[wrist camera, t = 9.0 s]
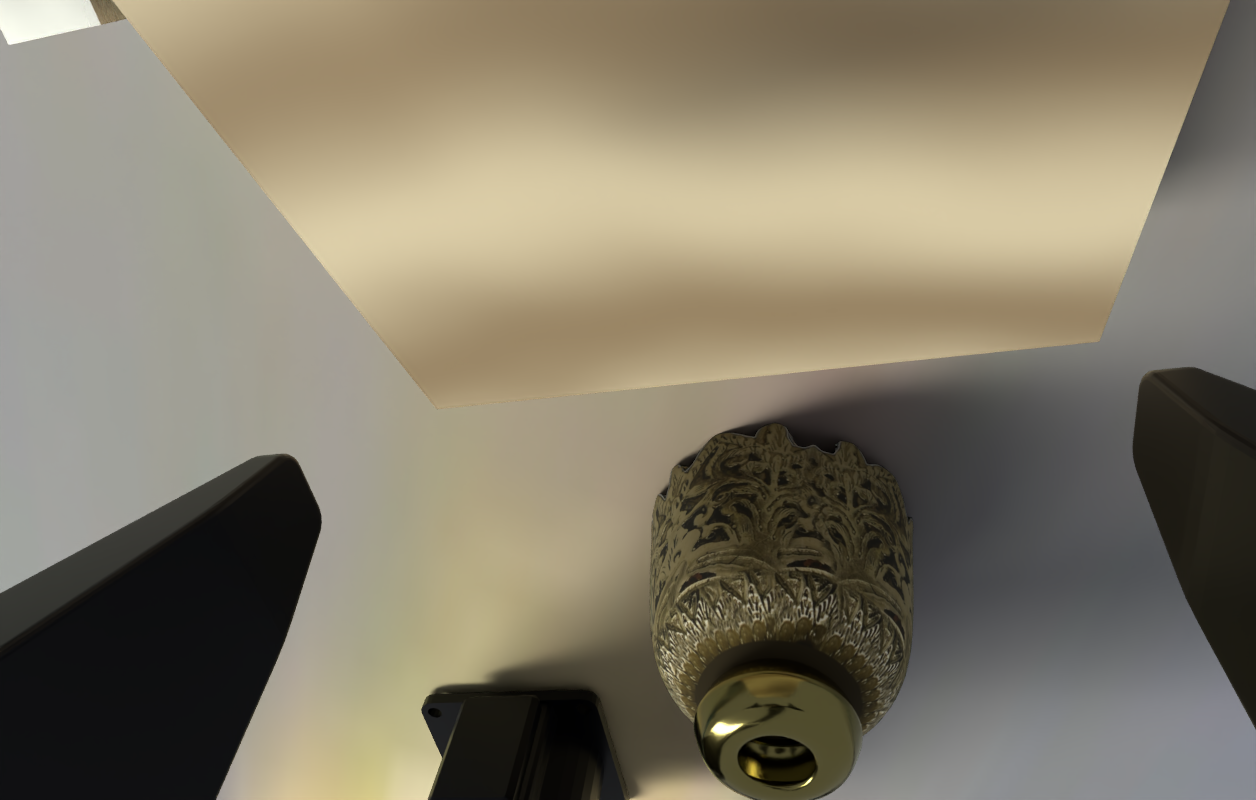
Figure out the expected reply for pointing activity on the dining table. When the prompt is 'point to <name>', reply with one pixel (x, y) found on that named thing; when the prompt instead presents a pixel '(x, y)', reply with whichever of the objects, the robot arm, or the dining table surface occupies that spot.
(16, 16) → the trapdoor frame
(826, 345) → the trapdoor
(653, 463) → the dining table surface
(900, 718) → the dining table surface
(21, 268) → the dining table surface
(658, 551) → the bronze domed piece
